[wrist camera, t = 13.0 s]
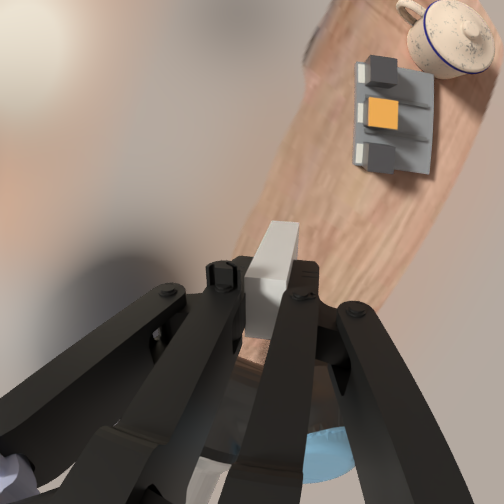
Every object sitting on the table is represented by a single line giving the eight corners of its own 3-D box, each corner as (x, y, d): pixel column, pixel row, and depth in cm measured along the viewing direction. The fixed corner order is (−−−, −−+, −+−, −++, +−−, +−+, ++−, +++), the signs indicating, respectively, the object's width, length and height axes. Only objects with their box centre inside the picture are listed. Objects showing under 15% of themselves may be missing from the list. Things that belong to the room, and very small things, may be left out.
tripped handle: (387, 128, 33) (397, 129, 28) (362, 125, 33) (369, 125, 29) (387, 103, 31) (398, 101, 27) (362, 100, 32) (369, 97, 27)
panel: (424, 171, 35) (441, 181, 30) (352, 163, 37) (358, 170, 31) (428, 76, 30) (446, 69, 24) (354, 64, 32) (361, 53, 26)
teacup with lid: (474, 50, 26) (517, 34, 16) (447, 94, 30) (489, 88, 20) (403, -6, 26) (427, -41, 15) (373, 37, 30) (392, 8, 19)
